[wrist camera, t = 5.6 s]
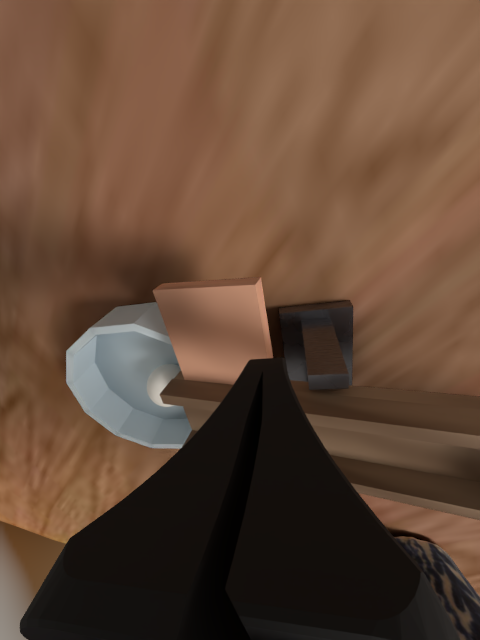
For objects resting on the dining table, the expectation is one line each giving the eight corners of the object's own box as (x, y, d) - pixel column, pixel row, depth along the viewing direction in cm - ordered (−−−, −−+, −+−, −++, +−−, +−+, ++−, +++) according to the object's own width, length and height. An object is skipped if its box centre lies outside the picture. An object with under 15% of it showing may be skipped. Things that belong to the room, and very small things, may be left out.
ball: (200, 386, 24) (184, 417, 21) (166, 385, 25) (146, 414, 22) (190, 355, 22) (171, 384, 19) (154, 355, 23) (131, 382, 20)
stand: (349, 402, 23) (372, 483, 17) (291, 404, 24) (294, 480, 18) (349, 300, 19) (381, 360, 13) (279, 307, 20) (277, 366, 14)
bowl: (243, 417, 26) (237, 449, 23) (125, 419, 29) (107, 447, 26) (212, 295, 20) (200, 316, 17) (68, 312, 23) (35, 333, 20)
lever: (522, 469, 15) (578, 566, 11) (204, 418, 22) (178, 467, 18) (633, 245, 9) (817, 298, 5) (156, 279, 16) (105, 311, 13)
